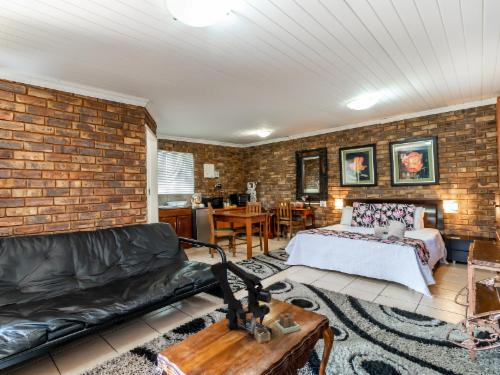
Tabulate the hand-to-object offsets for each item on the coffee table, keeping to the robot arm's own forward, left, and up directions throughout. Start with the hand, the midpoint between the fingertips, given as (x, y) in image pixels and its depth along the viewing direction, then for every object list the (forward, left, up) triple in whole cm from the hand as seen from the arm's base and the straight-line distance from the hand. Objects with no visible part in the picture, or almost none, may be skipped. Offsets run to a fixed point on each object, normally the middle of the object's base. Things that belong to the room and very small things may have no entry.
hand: (253, 326), depth 153 cm
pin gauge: (0, 0, -4) cm, 4 cm away
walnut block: (+3, +20, -3) cm, 20 cm away
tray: (+3, +20, -4) cm, 21 cm away
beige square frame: (+7, +2, -4) cm, 8 cm away
